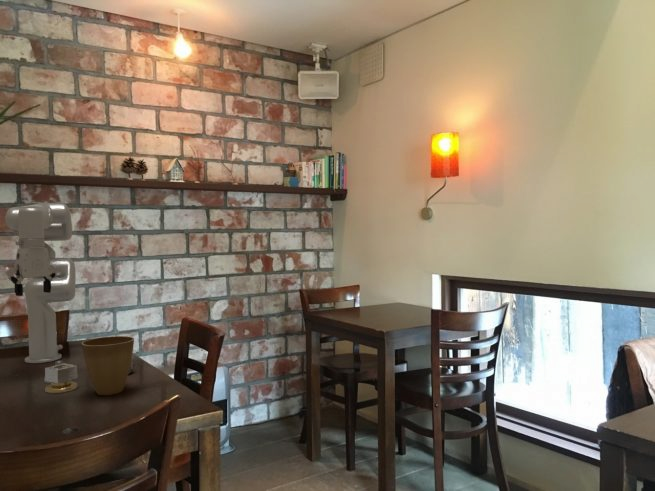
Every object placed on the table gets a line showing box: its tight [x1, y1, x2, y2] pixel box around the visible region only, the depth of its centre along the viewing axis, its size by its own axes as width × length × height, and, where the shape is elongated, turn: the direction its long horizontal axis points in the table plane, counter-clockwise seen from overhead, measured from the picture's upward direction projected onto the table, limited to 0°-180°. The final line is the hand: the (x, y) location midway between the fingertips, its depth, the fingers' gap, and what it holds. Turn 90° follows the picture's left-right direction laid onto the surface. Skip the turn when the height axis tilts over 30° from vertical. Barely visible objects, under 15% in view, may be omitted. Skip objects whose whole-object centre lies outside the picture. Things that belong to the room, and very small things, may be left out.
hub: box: [44, 380, 78, 394], centre depth 166 cm, size 9×9×6 cm
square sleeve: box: [44, 362, 78, 383], centre depth 166 cm, size 6×6×4 cm
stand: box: [43, 359, 74, 384], centre depth 177 cm, size 9×9×6 cm
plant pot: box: [81, 335, 135, 396], centre depth 162 cm, size 15×15×16 cm
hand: (33, 294), depth 181 cm, fingers open, 9 cm apart
